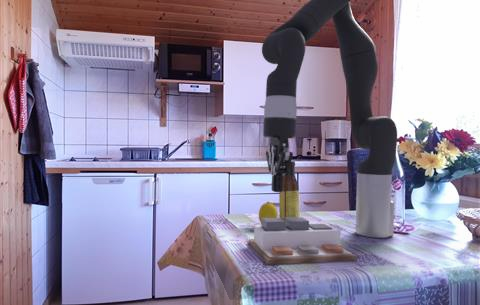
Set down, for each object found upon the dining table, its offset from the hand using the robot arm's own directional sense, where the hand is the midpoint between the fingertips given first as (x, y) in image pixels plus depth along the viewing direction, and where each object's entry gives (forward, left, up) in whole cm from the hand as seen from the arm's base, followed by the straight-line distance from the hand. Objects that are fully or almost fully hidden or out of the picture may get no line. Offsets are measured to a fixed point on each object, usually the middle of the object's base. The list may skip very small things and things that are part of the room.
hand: (276, 191), depth 81 cm
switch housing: (-5, 0, -14) cm, 15 cm away
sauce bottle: (-13, -28, -14) cm, 34 cm away
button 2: (-5, 0, -11) cm, 12 cm away
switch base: (-5, +2, -14) cm, 15 cm away
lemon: (-4, -21, -14) cm, 26 cm away
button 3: (+1, 0, -11) cm, 11 cm away
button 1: (-11, 0, -12) cm, 17 cm away
